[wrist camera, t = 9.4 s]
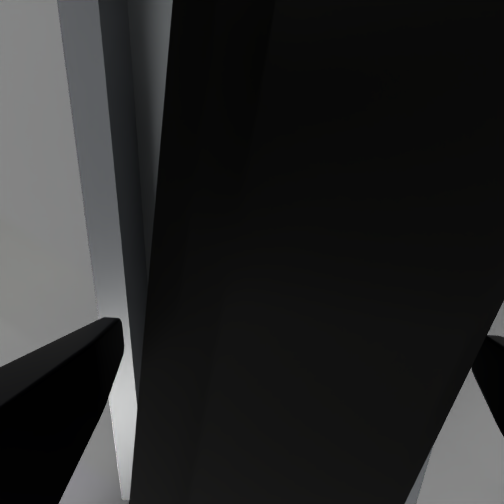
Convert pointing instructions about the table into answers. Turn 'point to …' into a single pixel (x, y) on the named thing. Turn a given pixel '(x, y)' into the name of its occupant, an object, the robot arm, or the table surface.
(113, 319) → the robot arm
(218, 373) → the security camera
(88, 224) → the case
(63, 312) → the table surface
